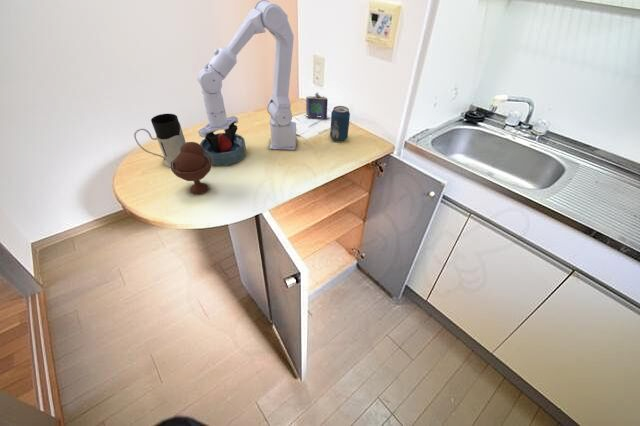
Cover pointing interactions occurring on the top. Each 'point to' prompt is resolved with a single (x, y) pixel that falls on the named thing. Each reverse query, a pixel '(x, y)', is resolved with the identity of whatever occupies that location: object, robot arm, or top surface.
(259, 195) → the top surface
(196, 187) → the ice cream bowl
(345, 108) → the soda can
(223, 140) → the pomegranate
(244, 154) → the bowl
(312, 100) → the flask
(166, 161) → the glass holder
